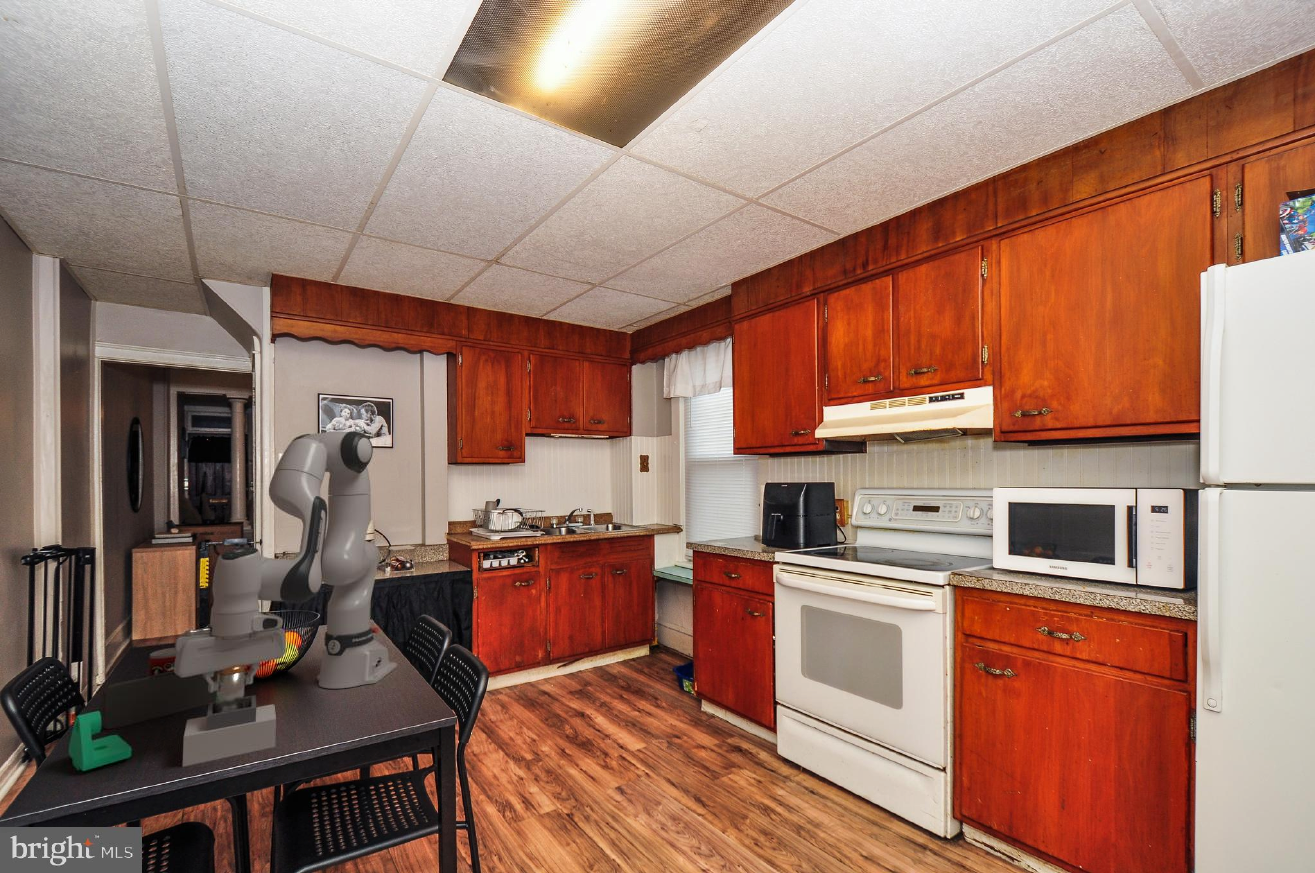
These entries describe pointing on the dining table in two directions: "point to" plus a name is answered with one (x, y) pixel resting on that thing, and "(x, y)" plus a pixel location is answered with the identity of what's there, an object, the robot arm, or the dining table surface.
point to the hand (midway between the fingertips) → (230, 687)
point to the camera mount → (94, 744)
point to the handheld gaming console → (153, 698)
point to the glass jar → (230, 689)
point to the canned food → (162, 661)
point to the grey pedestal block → (229, 732)
